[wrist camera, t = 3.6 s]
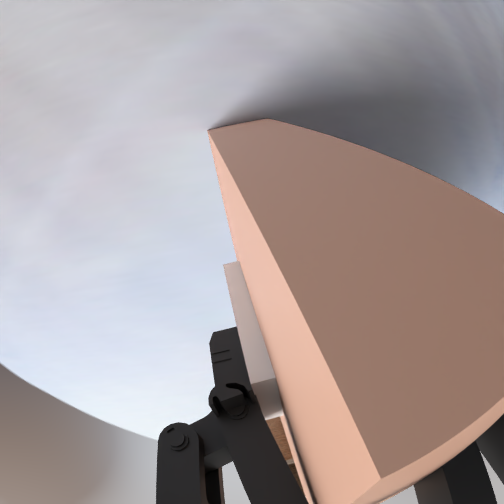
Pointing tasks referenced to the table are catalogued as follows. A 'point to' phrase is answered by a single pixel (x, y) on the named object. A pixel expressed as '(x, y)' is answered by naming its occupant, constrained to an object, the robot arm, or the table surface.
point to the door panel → (366, 305)
